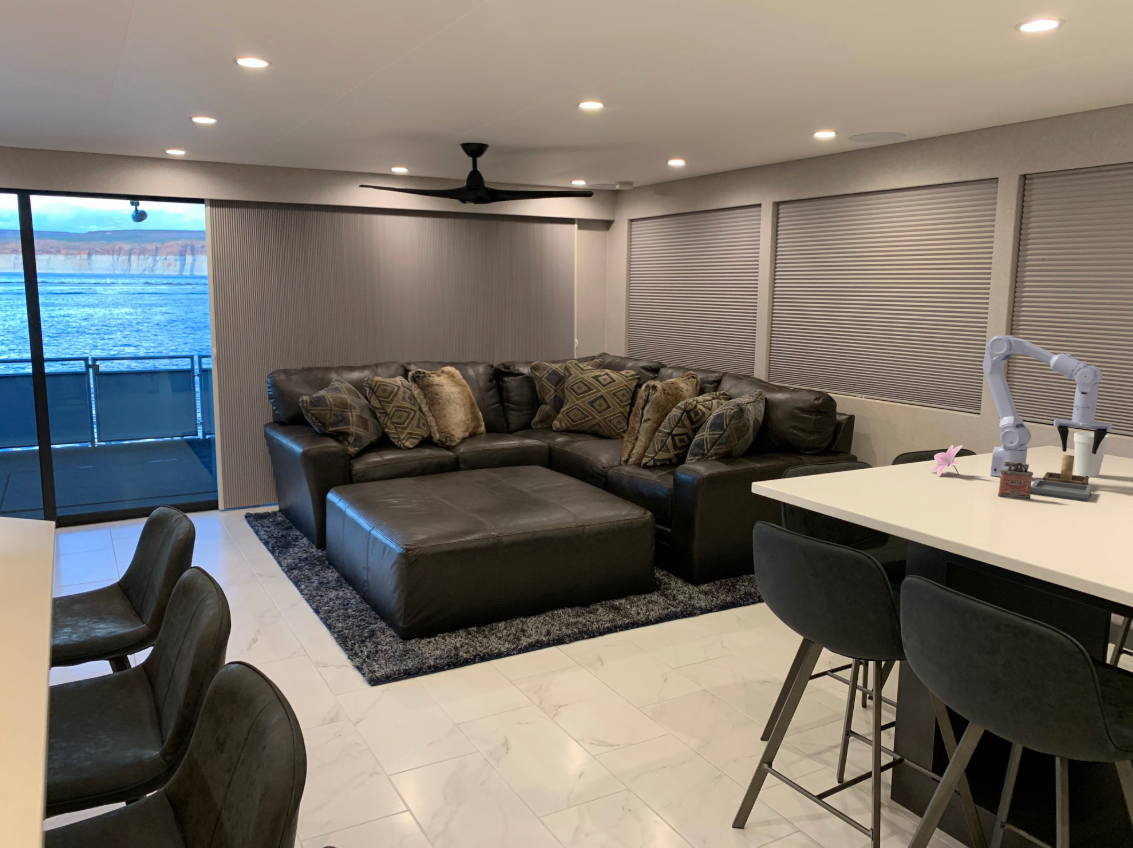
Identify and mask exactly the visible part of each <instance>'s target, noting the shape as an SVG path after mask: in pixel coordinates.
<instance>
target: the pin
mask: <svg viewBox="0 0 1133 848" xmlns="http://www.w3.org/2000/svg"><path fill="white" fill-rule="evenodd" d="M1061 459H1062V460H1061V469H1060V474H1061V475H1060V479H1064V480H1072V475H1073V473H1074V465H1075V455H1071V454H1062V458H1061Z"/></svg>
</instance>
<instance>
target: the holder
mask: <svg viewBox="0 0 1133 848" xmlns="http://www.w3.org/2000/svg"><path fill="white" fill-rule="evenodd" d="M1060 475H1061V472H1051V471H1047V472H1046V473H1045V474H1044V476H1043V477H1042V480H1046V481H1054V482H1062V483H1070V484H1078V485H1086V486H1089V479H1090V477H1086V476H1080V475H1076V474H1075V475H1074V474H1072V480H1064V479H1060Z"/></svg>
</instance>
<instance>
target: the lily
mask: <svg viewBox="0 0 1133 848" xmlns="http://www.w3.org/2000/svg"><path fill="white" fill-rule="evenodd" d="M962 448H963V444H962V445H961V444H960V445H958V446H955V447H954V444H951V445H950V446H949V448H948V449H947V451H946V452H939V453H936V454H934V455H933V457H934V460H935V462H936V463H937V464H936V465H935V466H934V468H933V469H931V471H930V472H931V473H934V472H936V471H937V472H936V473H937V474H936V475H937V477H938V478H939V477H940V476H941V475H942V473H943V471H944V470H945V469H946V468H947V467H949V466H953V468H954V470H955V471H956V473H957V476H959V475H960V473H959V472H958V471H959V470H958V469H957V467H956V465H957V464H958V461H957V459H956V458H955V456H956V454H957V453H958V452H959V451H960V450H961V449H962ZM931 473H930V474H931Z"/></svg>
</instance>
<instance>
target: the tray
mask: <svg viewBox="0 0 1133 848" xmlns="http://www.w3.org/2000/svg"><path fill="white" fill-rule="evenodd" d="M1091 494H1092V485H1088V486H1086V485H1078V484H1070V483H1062V482H1054V481H1046V480H1043V479H1037V478H1036V479H1035V480H1034V482H1033V483H1032V484H1031V489H1030V495H1034V496H1042V497H1050V498H1058V499H1064V500H1065V499H1066V500H1073V501H1080V502H1086V503H1087V502H1088V501H1089V499H1090V496H1091Z"/></svg>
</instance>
